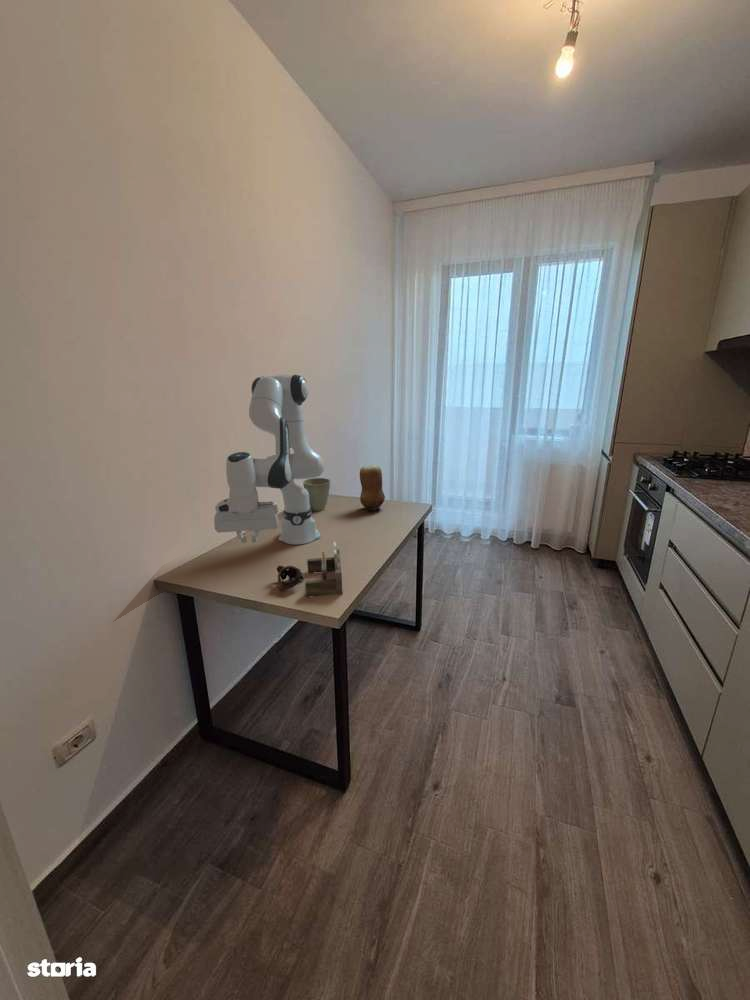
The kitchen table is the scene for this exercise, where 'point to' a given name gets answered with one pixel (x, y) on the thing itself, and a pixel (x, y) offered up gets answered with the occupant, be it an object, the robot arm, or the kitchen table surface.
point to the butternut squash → (371, 487)
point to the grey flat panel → (324, 567)
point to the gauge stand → (325, 585)
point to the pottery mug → (291, 573)
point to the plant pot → (317, 492)
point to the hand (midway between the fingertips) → (249, 542)
